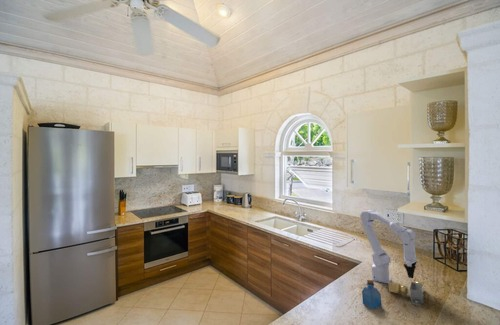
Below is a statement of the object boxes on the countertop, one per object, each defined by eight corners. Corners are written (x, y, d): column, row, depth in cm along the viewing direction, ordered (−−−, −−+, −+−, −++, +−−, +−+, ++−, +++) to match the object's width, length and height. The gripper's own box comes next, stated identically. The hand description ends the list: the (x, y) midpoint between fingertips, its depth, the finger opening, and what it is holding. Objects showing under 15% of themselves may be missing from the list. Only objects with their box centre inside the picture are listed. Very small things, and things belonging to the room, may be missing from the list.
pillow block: (410, 304, 122) (409, 291, 122) (412, 291, 135) (411, 279, 135) (422, 307, 119) (421, 293, 119) (423, 293, 132) (422, 281, 132)
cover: (418, 292, 132) (417, 283, 133) (411, 288, 138) (410, 280, 138) (427, 291, 133) (426, 283, 134) (420, 288, 138) (418, 280, 139)
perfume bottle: (362, 303, 125) (361, 280, 126) (371, 300, 127) (369, 277, 128) (372, 309, 119) (370, 285, 120) (381, 306, 121) (379, 282, 122)
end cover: (388, 293, 133) (388, 283, 133) (390, 289, 137) (389, 280, 137) (407, 297, 127) (406, 287, 128) (408, 293, 132) (407, 283, 132)
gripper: (417, 256, 128) (419, 281, 127) (418, 248, 139) (420, 272, 138) (401, 253, 132) (403, 278, 131) (404, 246, 144) (406, 269, 143)
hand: (411, 275), depth 135 cm, fingers open, 7 cm apart
